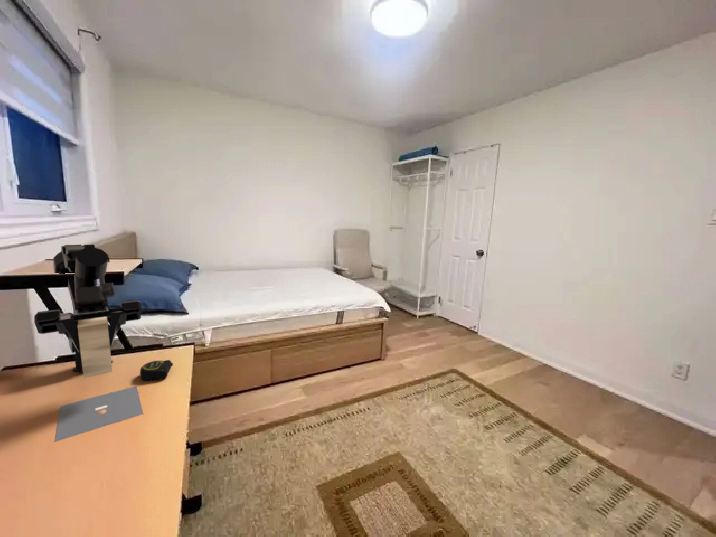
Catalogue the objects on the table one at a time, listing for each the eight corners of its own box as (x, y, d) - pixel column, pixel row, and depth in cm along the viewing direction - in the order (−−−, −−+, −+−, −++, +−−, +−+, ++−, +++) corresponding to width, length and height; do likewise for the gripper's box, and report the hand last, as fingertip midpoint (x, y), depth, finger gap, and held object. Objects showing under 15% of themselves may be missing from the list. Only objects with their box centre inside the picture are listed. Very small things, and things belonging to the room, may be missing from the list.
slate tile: (60, 408, 69) (60, 405, 69) (136, 388, 78) (136, 385, 78) (55, 444, 59) (54, 441, 59) (143, 416, 68) (143, 413, 68)
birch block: (83, 369, 72) (78, 320, 70) (111, 363, 75) (106, 316, 73) (83, 378, 68) (77, 326, 66) (112, 371, 71) (107, 322, 69)
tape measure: (166, 382, 82) (165, 369, 81) (136, 385, 80) (135, 372, 79) (173, 370, 88) (172, 358, 88) (145, 373, 86) (144, 360, 85)
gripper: (29, 275, 65) (28, 342, 58) (137, 268, 77) (146, 324, 70) (39, 302, 72) (39, 365, 66) (136, 292, 84) (144, 344, 78)
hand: (95, 348), depth 70 cm, fingers closed on birch block, 5 cm apart
